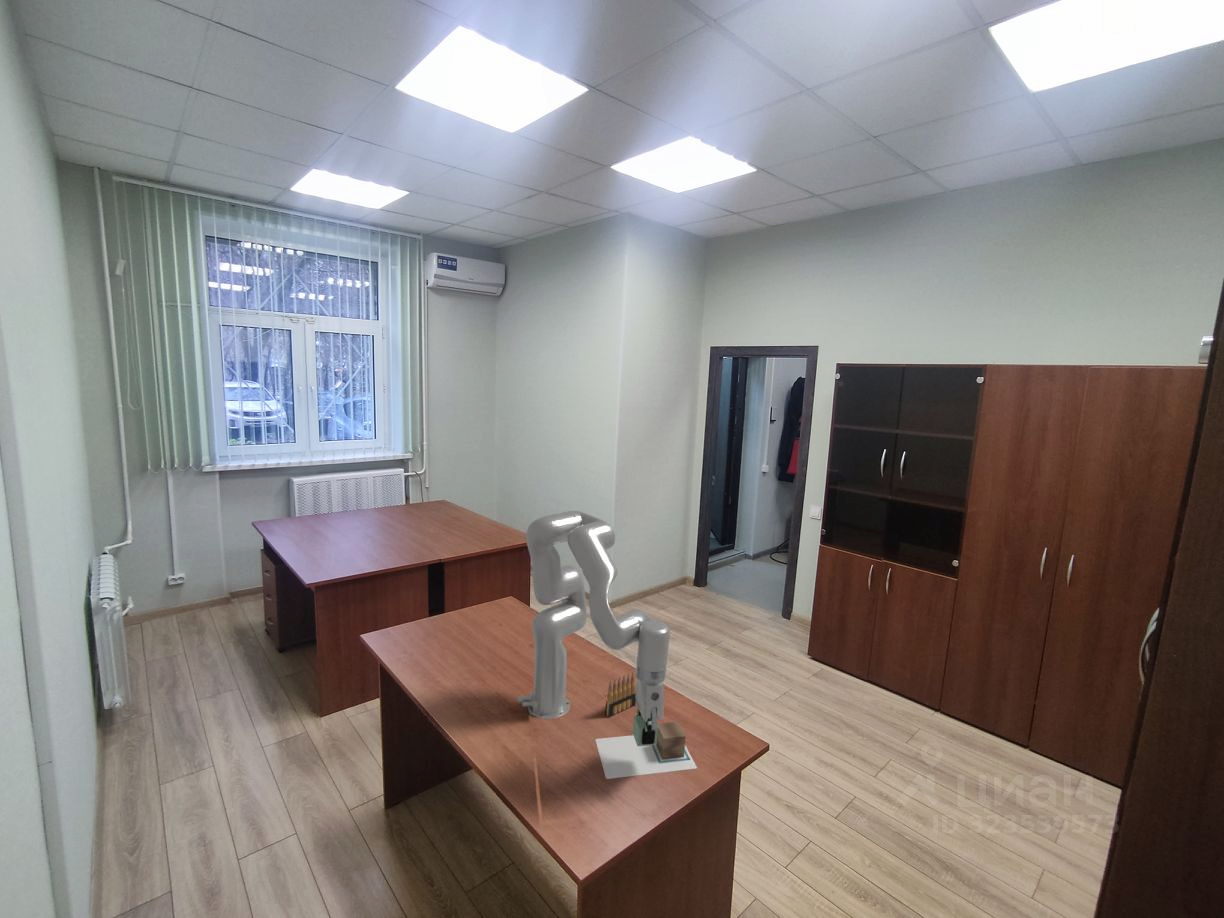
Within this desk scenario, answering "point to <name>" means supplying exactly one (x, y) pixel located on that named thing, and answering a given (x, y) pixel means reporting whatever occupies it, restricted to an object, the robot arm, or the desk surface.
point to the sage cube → (641, 730)
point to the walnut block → (670, 740)
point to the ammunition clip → (620, 695)
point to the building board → (637, 758)
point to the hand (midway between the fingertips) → (644, 735)
